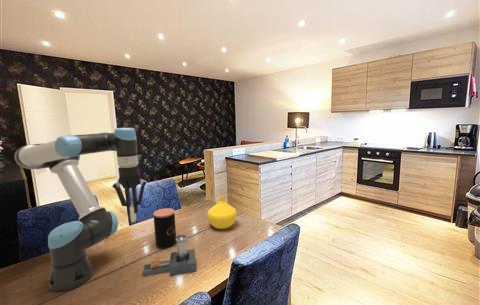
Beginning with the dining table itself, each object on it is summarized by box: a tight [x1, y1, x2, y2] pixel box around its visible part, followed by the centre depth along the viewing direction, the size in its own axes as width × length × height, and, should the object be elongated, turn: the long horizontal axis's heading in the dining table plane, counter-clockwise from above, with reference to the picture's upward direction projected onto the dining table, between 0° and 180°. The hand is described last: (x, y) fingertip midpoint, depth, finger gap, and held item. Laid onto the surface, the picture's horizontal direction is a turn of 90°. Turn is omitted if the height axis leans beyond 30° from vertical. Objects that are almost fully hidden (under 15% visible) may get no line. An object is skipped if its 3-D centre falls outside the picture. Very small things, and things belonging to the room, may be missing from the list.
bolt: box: [150, 256, 170, 269], centre depth 100 cm, size 10×2×5 cm, turn 104°
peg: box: [176, 233, 188, 262], centre depth 102 cm, size 5×5×14 cm
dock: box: [141, 248, 197, 277], centre depth 101 cm, size 22×11×4 cm, turn 104°
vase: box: [207, 195, 238, 230], centre depth 140 cm, size 18×18×19 cm
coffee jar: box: [152, 207, 177, 249], centre depth 120 cm, size 11×11×18 cm
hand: (133, 220), depth 95 cm, fingers closed
